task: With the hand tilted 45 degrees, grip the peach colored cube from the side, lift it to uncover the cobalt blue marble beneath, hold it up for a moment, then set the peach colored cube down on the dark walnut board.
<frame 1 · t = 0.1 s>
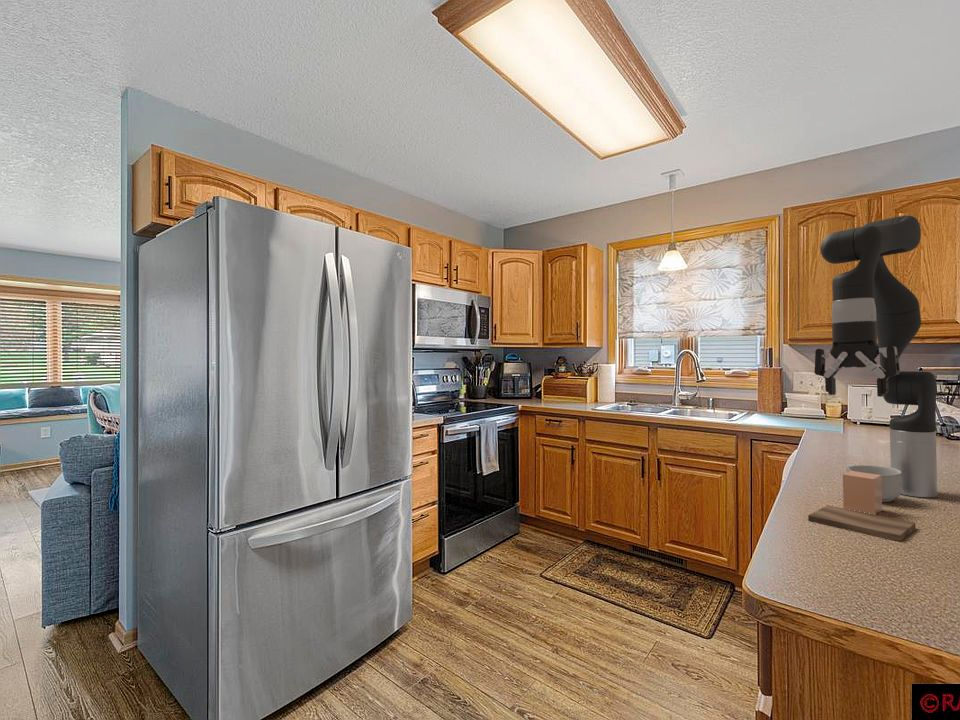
hand: (855, 395, 100), 29 cm above the table, tool pointing down, fingers open, 8 cm apart
peach colored cube: (862, 509, 114), on the table
board: (860, 524, 104), on the table
teacup: (870, 498, 123), on the table
marble: (862, 503, 114), in the peach colored cube
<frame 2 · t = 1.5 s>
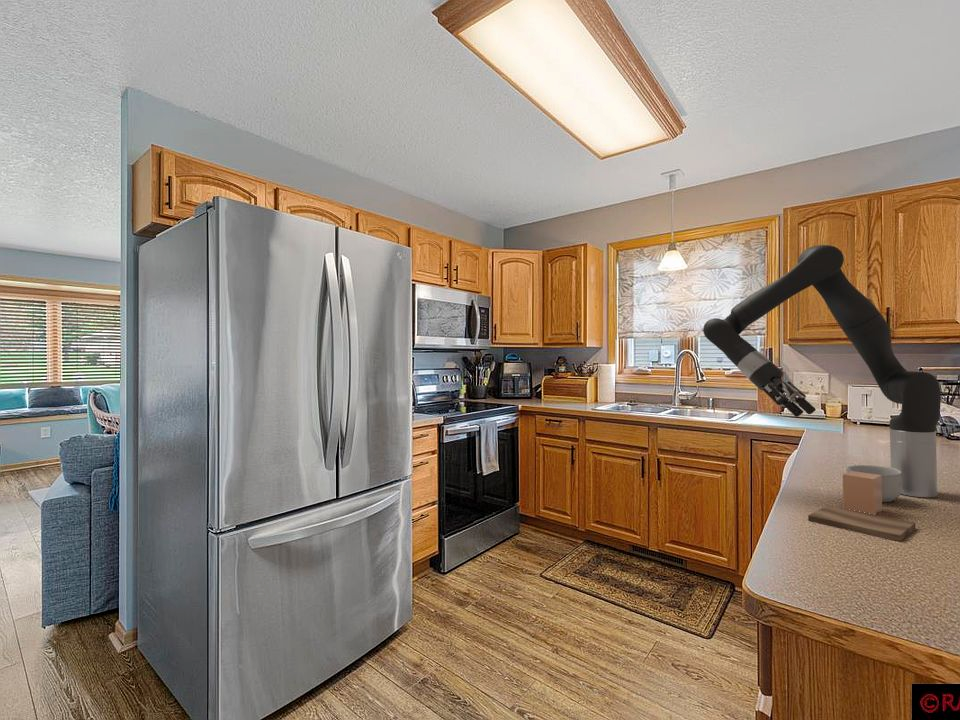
hand: (806, 413, 123), 23 cm above the table, tool tilted 45°, fingers open, 8 cm apart
nothing on the table moved.
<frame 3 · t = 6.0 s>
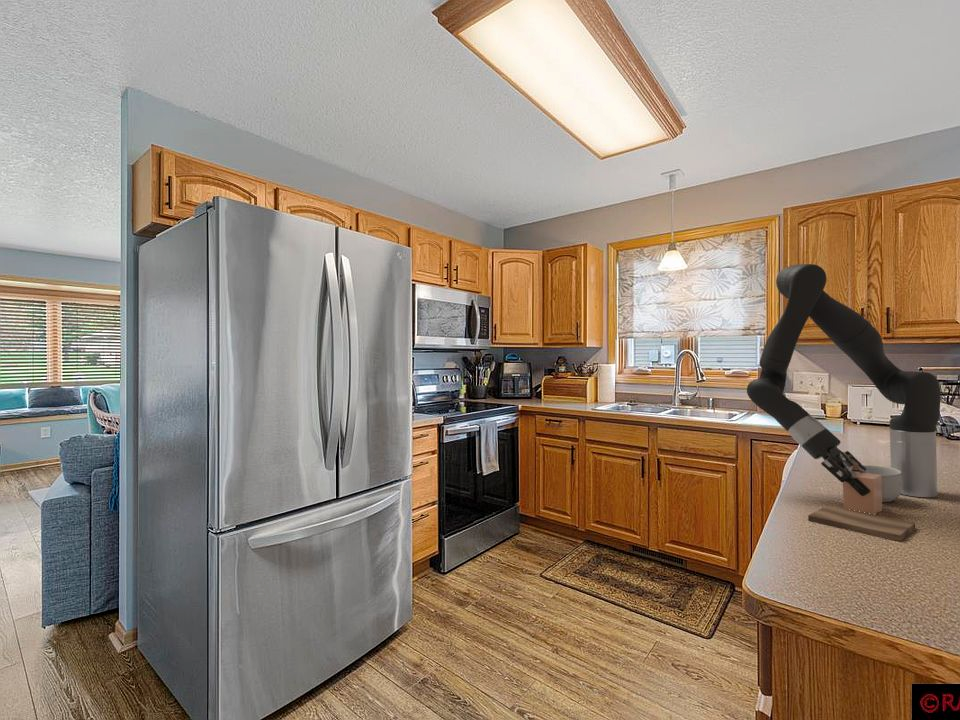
hand: (871, 491, 112), 5 cm above the table, tool tilted 45°, fingers closed on peach colored cube, 6 cm apart
peach colored cube: (862, 509, 114), on the table, touching gripper
everything else where it was.
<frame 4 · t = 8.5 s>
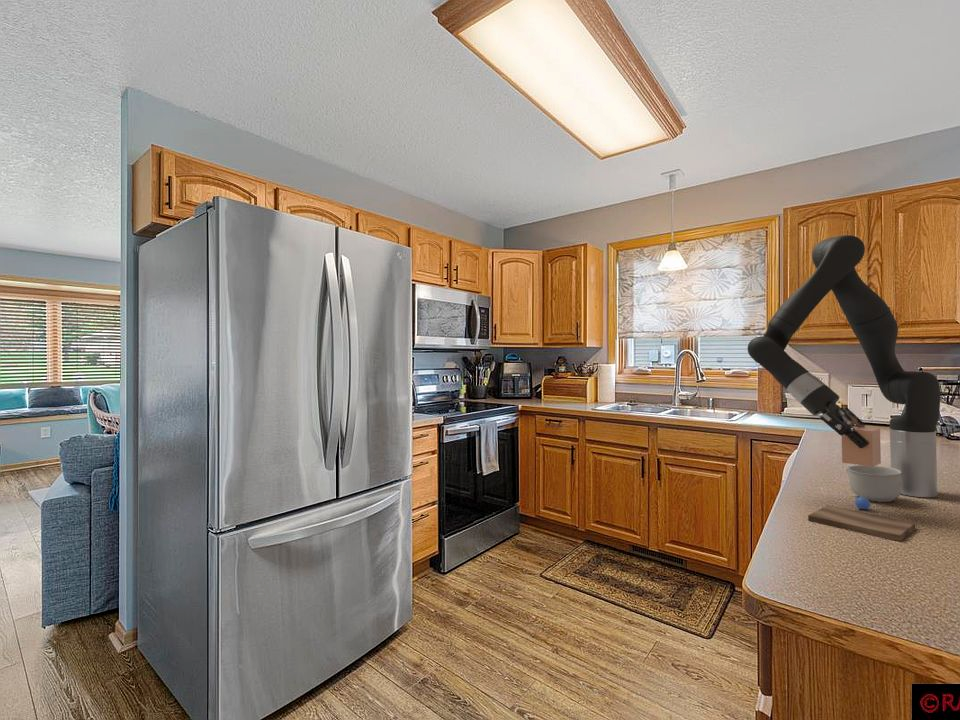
hand: (869, 444, 112), 16 cm above the table, tool tilted 45°, fingers closed on peach colored cube, 6 cm apart
peach colored cube: (861, 462, 114), point 11 cm above the table, touching gripper
everything else where it was.
when the fingers open (7 cm above the table, at t = 11.4 s): peach colored cube drops 1 cm, resting on board.
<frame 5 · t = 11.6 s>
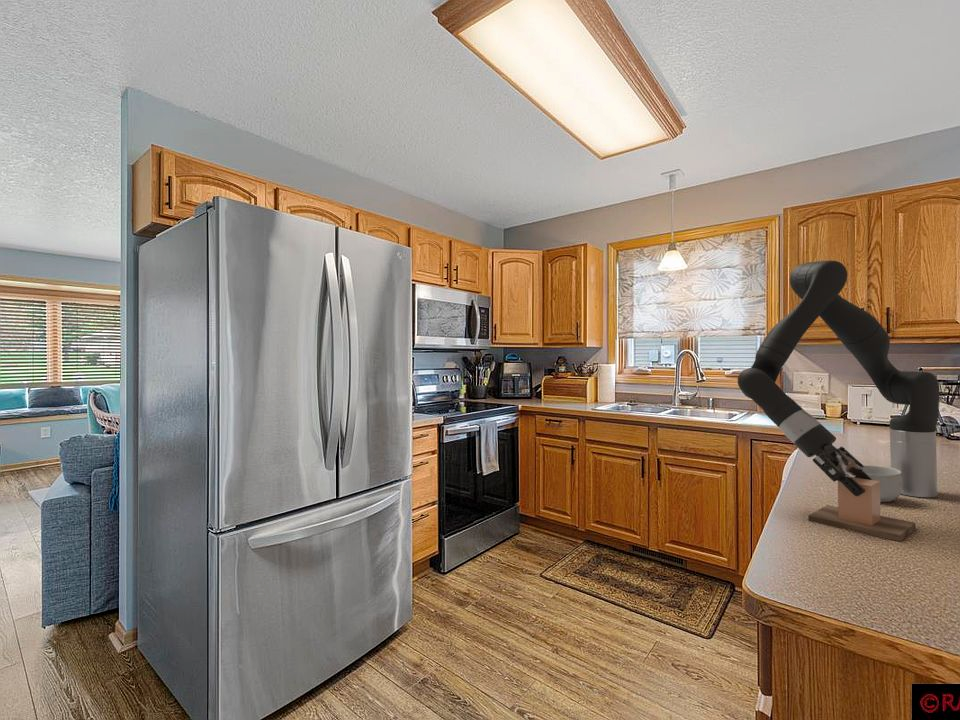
hand: (867, 490, 103), 8 cm above the table, tool tilted 45°, fingers open, 8 cm apart
peach colored cube: (859, 518, 104), point 1 cm above the table, touching board
everything else where it was.
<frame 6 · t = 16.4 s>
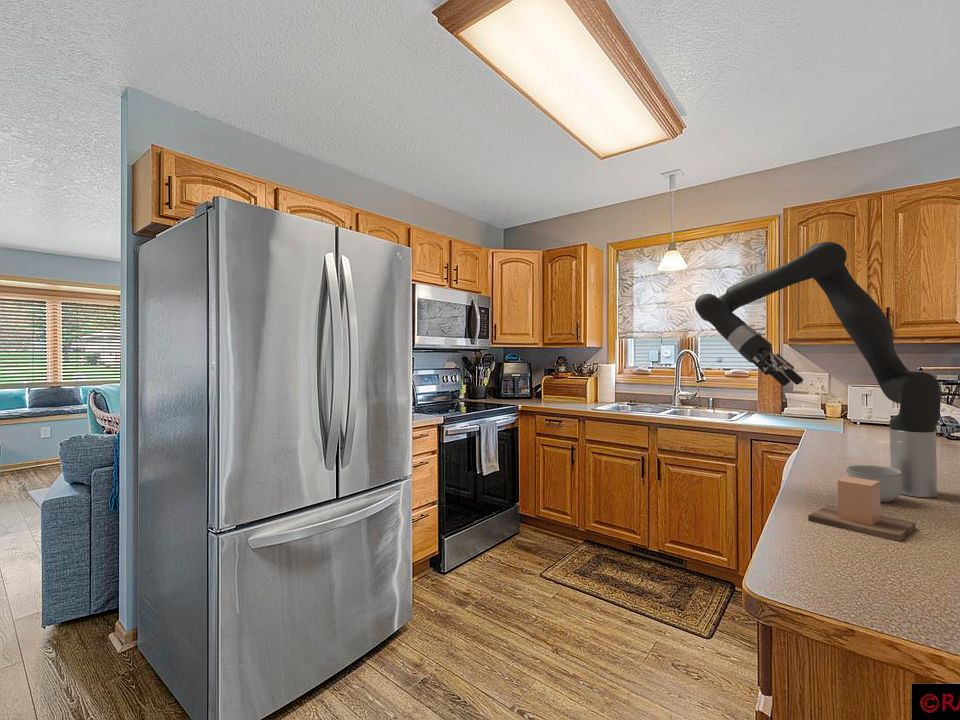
hand: (794, 383, 126), 31 cm above the table, tool tilted 45°, fingers open, 8 cm apart
nothing on the table moved.
at the end: peach colored cube inside the target area on the board (0.1 cm from its centre), point 1.2 cm above the board's base; peach colored cube tilted 0°; the gripper is holding nothing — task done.
